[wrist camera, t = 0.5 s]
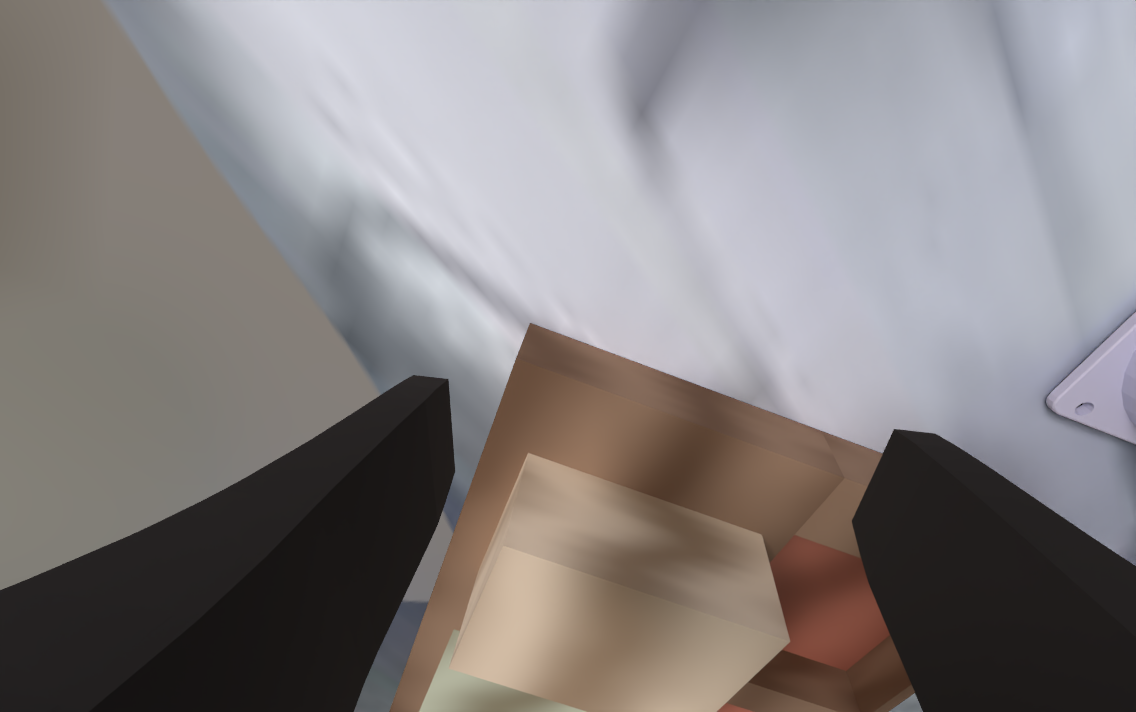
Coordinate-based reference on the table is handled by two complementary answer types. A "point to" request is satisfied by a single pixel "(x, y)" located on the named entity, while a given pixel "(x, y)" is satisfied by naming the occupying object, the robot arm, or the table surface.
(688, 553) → the birch block
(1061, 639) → the robot arm
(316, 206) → the table surface
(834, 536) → the trap deck
